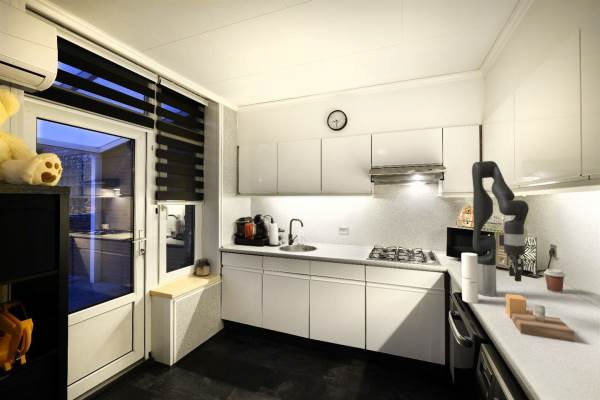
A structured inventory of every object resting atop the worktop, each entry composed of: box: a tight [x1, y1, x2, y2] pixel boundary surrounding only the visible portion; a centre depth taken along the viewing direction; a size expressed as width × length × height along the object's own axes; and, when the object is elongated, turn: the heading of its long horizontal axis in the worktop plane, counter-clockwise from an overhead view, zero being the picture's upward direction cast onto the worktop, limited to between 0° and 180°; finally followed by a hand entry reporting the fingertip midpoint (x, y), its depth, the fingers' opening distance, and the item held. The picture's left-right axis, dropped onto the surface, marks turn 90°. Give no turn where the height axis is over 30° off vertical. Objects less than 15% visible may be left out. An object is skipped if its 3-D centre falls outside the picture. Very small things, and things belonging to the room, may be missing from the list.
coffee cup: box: [543, 268, 566, 294], centre depth 152 cm, size 9×9×12 cm
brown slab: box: [511, 304, 575, 342], centre depth 109 cm, size 12×16×10 cm
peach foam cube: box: [505, 293, 534, 319], centre depth 121 cm, size 9×6×9 cm, turn 65°
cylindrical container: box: [461, 252, 479, 304], centre depth 141 cm, size 7×7×25 cm
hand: (515, 278), depth 122 cm, fingers open, 8 cm apart
